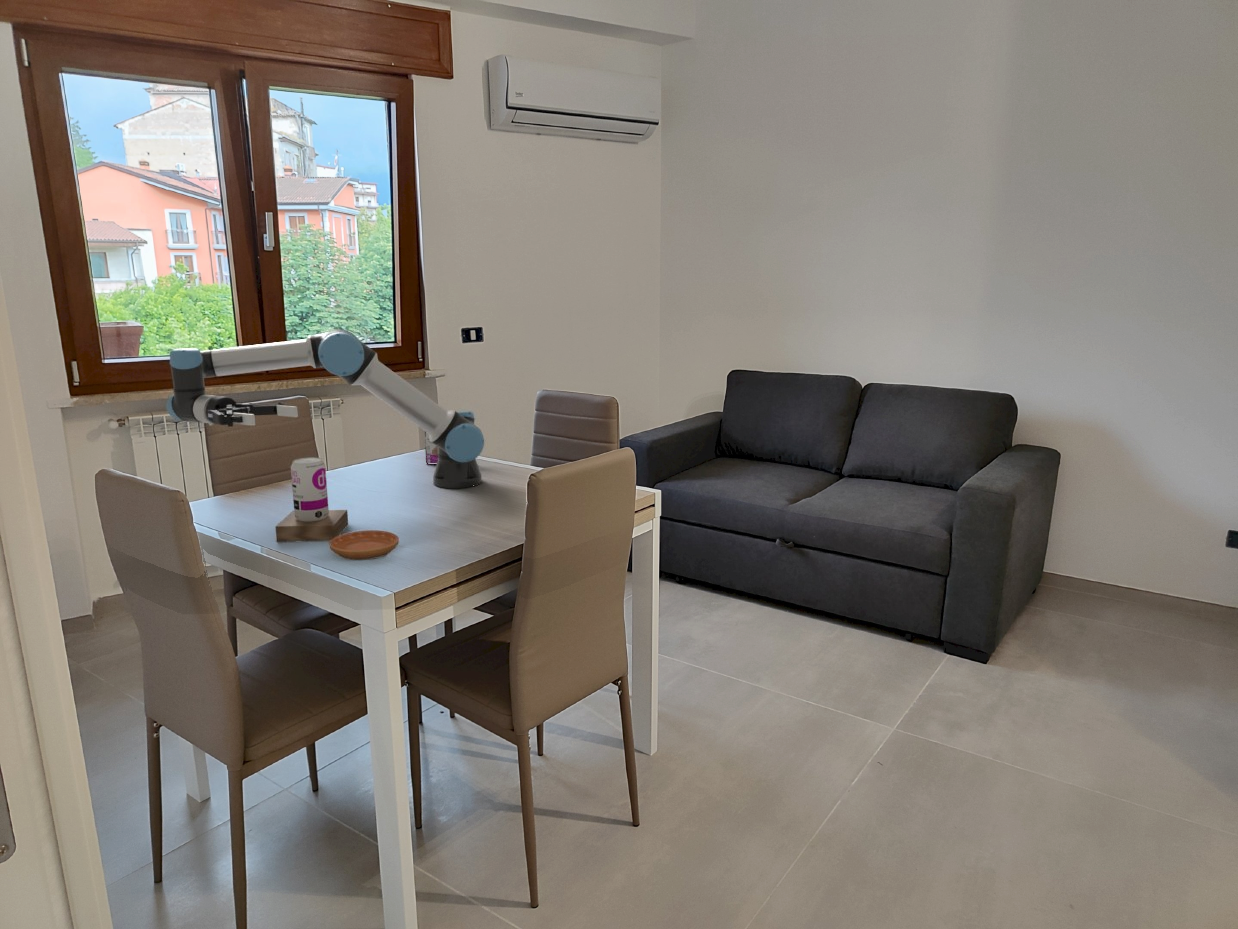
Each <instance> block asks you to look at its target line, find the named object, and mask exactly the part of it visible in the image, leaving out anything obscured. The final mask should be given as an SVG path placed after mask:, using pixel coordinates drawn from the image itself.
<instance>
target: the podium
mask: <svg viewBox="0 0 1238 929" xmlns="http://www.w3.org/2000/svg"><path fill="white" fill-rule="evenodd" d="M348 517H349V515H348V509H329V515H328V516H327V517H326V518H325V519H322V520H319V521H313V522H303V521H299V520H297V518H295V514H294V510H291V512H290V513H289V514H287V515H286V516H285V517H284V518H283V519H282V520H281V521H279V523H277V524H276V525H275V527H274V528H275V538H276V542H277V543H287V541H290V542H289V543H291V542H292V543H295V542H296V541H302V542H330V541H331V540H332V539H333V538H335V537H337V536H339V535H342V534H343V532H344V531H345V529H347V526H348V525H349V520H348V519H349V518H348ZM296 543H297V542H296Z"/></svg>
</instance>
